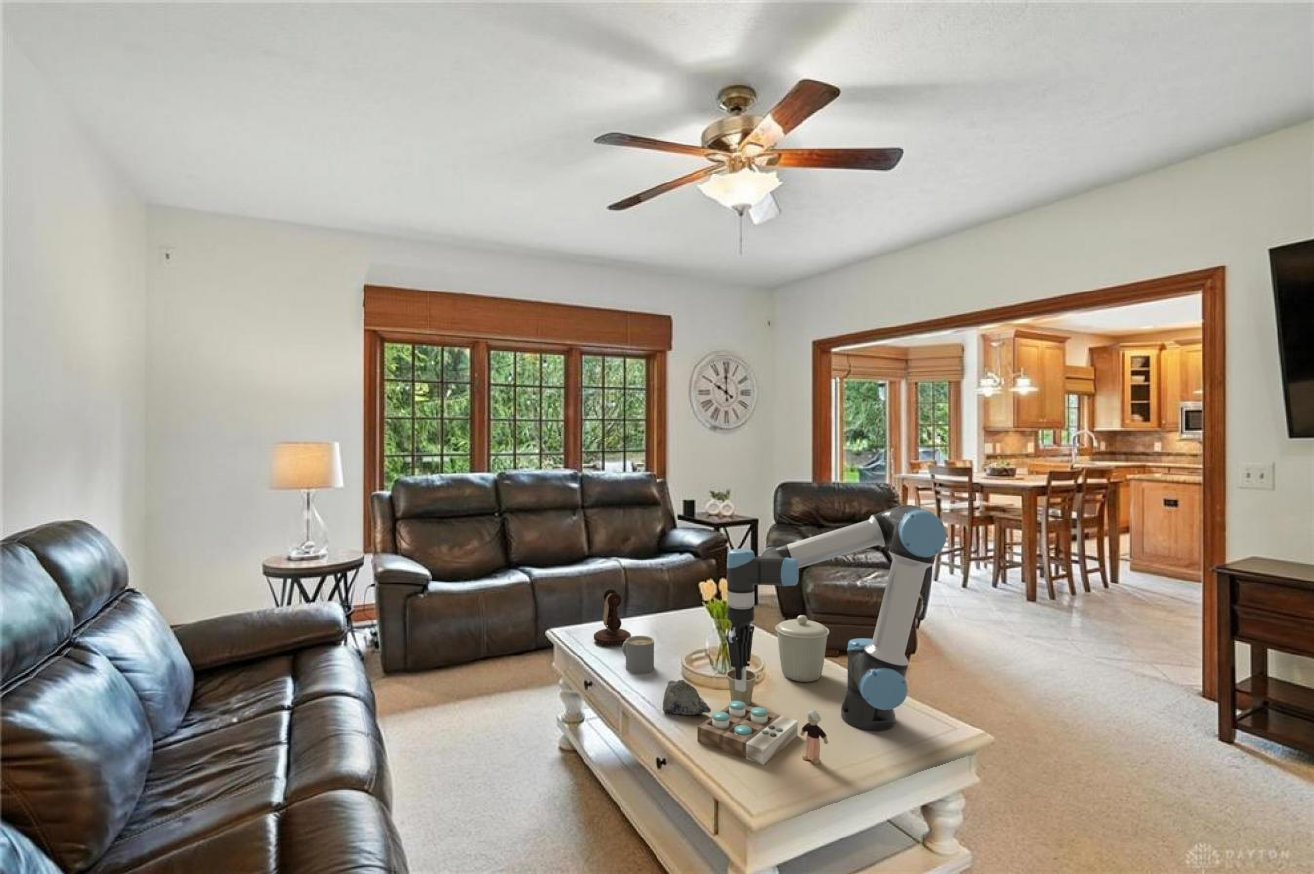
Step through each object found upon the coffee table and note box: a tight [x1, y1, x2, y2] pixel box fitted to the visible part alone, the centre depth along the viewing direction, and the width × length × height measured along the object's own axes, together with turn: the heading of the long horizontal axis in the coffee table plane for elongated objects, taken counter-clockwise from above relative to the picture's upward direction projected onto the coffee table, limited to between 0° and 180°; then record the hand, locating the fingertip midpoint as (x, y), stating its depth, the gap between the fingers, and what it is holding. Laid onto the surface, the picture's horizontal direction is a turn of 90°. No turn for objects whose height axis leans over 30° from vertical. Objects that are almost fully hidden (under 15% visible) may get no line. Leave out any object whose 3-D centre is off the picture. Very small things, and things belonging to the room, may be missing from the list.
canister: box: [774, 614, 830, 683], centre depth 218 cm, size 18×18×21 cm
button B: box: [734, 725, 752, 738], centre depth 170 cm, size 5×5×4 cm
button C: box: [728, 701, 746, 718], centre depth 182 cm, size 5×5×4 cm
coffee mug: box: [621, 635, 655, 675], centre depth 227 cm, size 13×10×10 cm
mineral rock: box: [662, 679, 712, 716], centre depth 189 cm, size 13×11×10 cm
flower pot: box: [725, 668, 758, 706], centre depth 198 cm, size 9×9×9 cm
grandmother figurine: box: [799, 710, 829, 765], centre depth 163 cm, size 8×4×13 cm, turn 58°
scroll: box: [593, 588, 632, 647], centre depth 254 cm, size 15×15×20 cm
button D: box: [711, 711, 729, 730], centre depth 175 cm, size 5×5×4 cm
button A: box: [751, 706, 769, 726], centre depth 177 cm, size 5×5×4 cm
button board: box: [696, 705, 799, 766], centre depth 175 cm, size 20×20×4 cm
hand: (740, 689), depth 177 cm, fingers closed
